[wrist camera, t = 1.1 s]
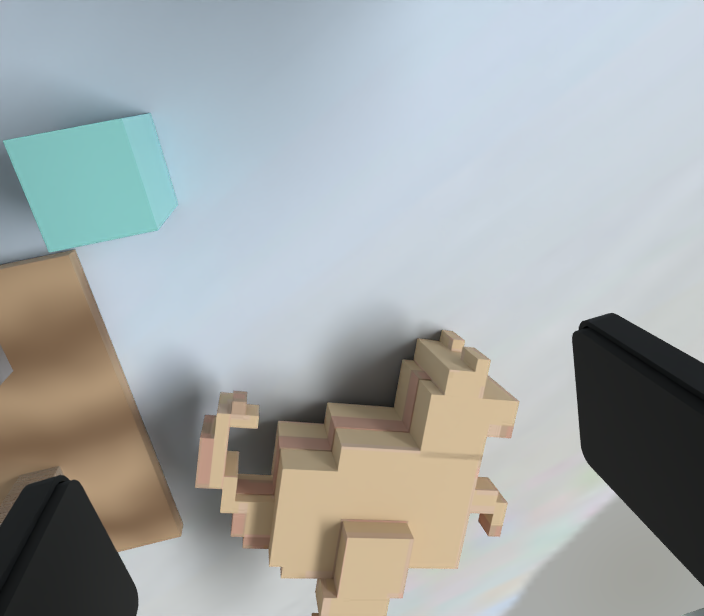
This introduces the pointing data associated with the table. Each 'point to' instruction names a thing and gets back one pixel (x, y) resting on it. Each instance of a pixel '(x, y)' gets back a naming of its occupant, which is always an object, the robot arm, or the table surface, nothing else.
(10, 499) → the tall post
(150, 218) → the teal block
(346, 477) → the toy
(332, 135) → the table surface
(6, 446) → the stand
